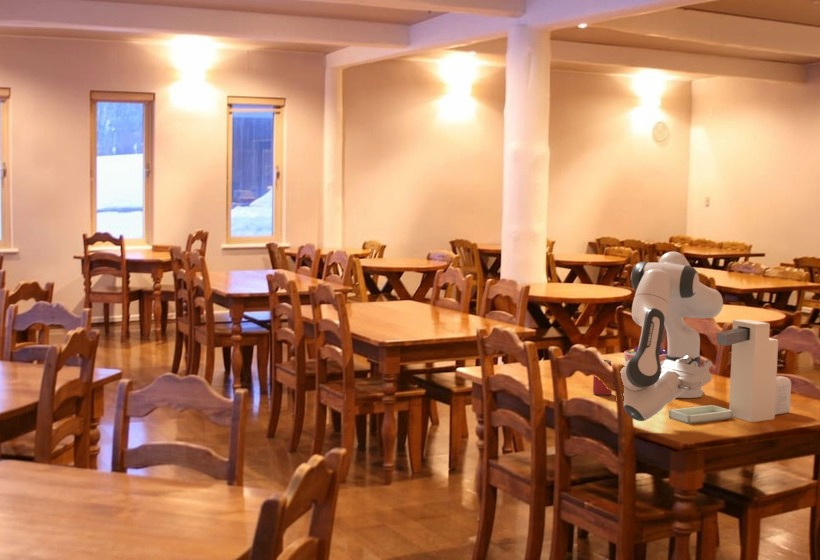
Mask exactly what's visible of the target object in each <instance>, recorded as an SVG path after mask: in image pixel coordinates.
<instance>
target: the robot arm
mask: <svg viewBox="0 0 820 560" xmlns="http://www.w3.org/2000/svg"><path fill="white" fill-rule="evenodd" d="M630 283H631V288H632V289H633V290H634V291H635V294H634V297H633V301H632V305H631V317H632V320H633V322H634V323H635V324H637V325H638V326H640V327H641V333H640V337H639V341H638V342H639V343H638V346H637V347H638V350H637V352H636V354H635V355H634V356H633V357H632V358H631V359H630V360H628V361H627V362H626V361H625V362H623V363H622V364H621V365H624V366H625V367H623V368H622V369H621V371H620V373H621V379H622V382H623V385H624V393H623V396H624V401H623V410H624V412H625V413H626V414H627V415H628V416H629V417H630V418H631V419H633V420H635V421H638V422H644V421H647V420H649V419H651V418H652V417H654V416H655V415H656V414H658V413H659V412H660V411H662V410H663V408H664V407H665V406H666V405H667V404H670V403H671V402H673V401H674V400H675V399H676V398H678V399H679V398H680V399H693V398H695V399H696V398H700V397H702V396H703V393H704V389H702V388H703V387H704V386H705V385H707V384H708V383H710V382H711V380H712V379H713V378H712V374H711V372H710V368H711V367H713V362H712V361H711V360H705V361H704V362H703V366H701V360H702V359H701V356H700V348H701V347H700V346H701V337H700V334H699V332H698V331H697V330H696V329H694V328H693V327H692V326H690V325H688V324H687V323H686V322H685V319H684V318H692V319H693V318H695V319H708V318H709V319H711V318H715V317H716V318H717V316H719V314H720V313H721V311H722V309H723V306H724V299H723V296H722V294H721V293H720V291H718V290H717V289H714V288H712V287H709V286H707V285H705V284H704V283H702V282H701V281H700V277H699V272H698V271H697V270H696V268H695V267H692V265H691V264H690V262H689V261H688V260H687V258H686V257H685V256H684V254H682V253H680V252H677V251H673V250H672V251H668V252H666V253H664V254H663V255H662V256H661V257H660V259H658V262H655V261H654V262H652V261H651V262H649V261H639V262H638V263H636V264H634V266H633V268H632V270H631V274H630ZM664 329H665V330H666V331H665V332H666V338H667V339H666V340H667V351H668V352H667V355H663V356H665V357H663V358H662V359H664V358H665V360H663V361H662V362H660V359H659V352H660V346H661V347H662V341H663V334H664Z"/></svg>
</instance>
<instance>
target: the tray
mask: <svg viewBox="0 0 820 560" xmlns="http://www.w3.org/2000/svg"><path fill="white" fill-rule="evenodd" d="M668 418H669V419H672V420H675V421H679V422H681V423H685V424H687V425H690V424H698V423H707V422H715V421H723V420H731V419H733V418H734V417H733V411H732V410H729V408H724V407H722V406H718V405H713V404H709V405H701V406H700V405H699V406H694V407H683V408H676V409H675V408H674V409H669V410H668Z"/></svg>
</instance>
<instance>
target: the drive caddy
mask: <svg viewBox="0 0 820 560" xmlns="http://www.w3.org/2000/svg"><path fill="white" fill-rule="evenodd" d="M716 339H717V342H716V343H717V345H722V346H727V347H728V346H730V345H731V346H732V344H735V343H739V342H743V341H747V340H750V328H747V327H740V328H736V329H733V328H732V329H728V330H725V331H720V332H717V333H716Z"/></svg>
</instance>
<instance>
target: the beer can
mask: <svg viewBox="0 0 820 560" xmlns="http://www.w3.org/2000/svg"><path fill="white" fill-rule="evenodd" d="M603 360H604V361H605V362H607V363H608V364H609V365H610V366H612V367H613V365H612V360H608V359H603ZM592 380H593V382H592V386H593V387H592V392H593V394H594V395H595V396H602V397H603V396H610V395H612V393H613V390H612V391H611V390H609V389H607V388H606V386H605V385H604V384H603V382H602V381H601V380H599V379H598V378H597V377H595V376H594V375H593V379H592Z"/></svg>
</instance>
